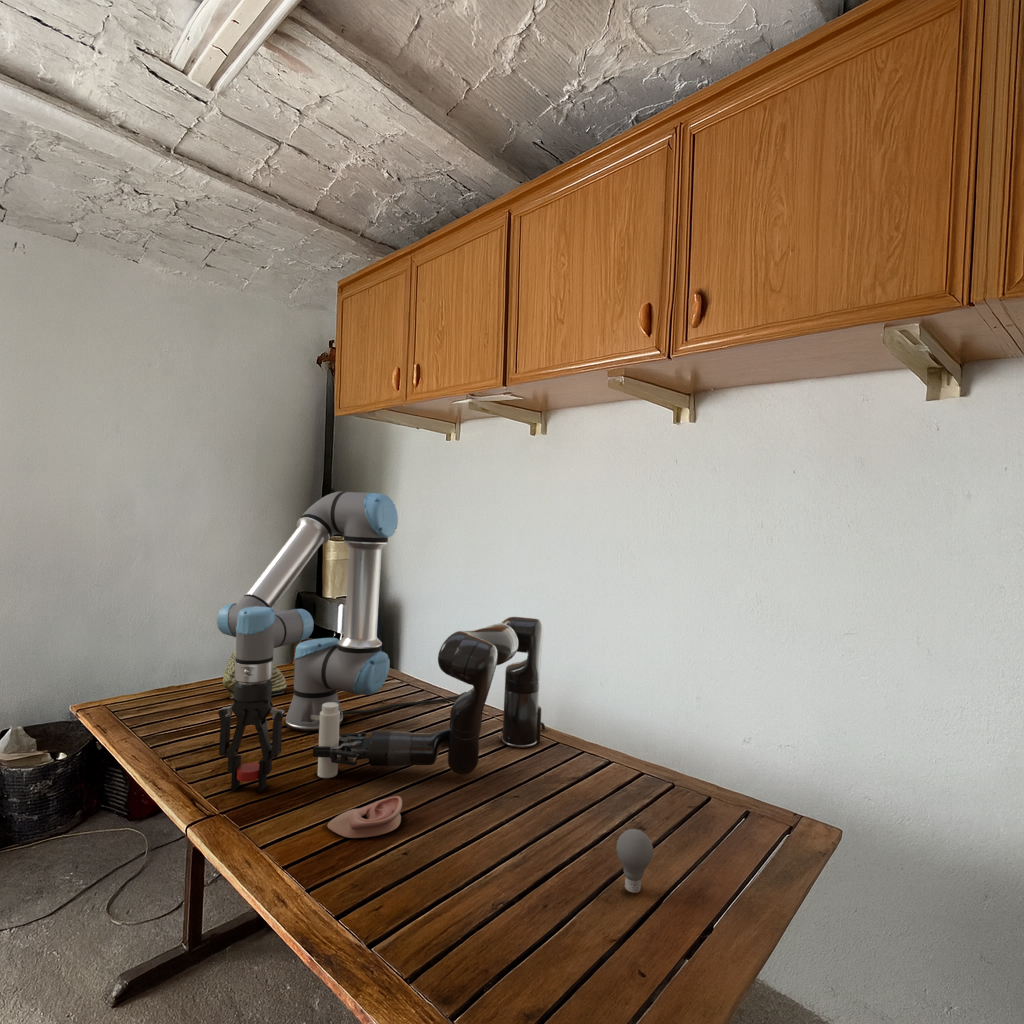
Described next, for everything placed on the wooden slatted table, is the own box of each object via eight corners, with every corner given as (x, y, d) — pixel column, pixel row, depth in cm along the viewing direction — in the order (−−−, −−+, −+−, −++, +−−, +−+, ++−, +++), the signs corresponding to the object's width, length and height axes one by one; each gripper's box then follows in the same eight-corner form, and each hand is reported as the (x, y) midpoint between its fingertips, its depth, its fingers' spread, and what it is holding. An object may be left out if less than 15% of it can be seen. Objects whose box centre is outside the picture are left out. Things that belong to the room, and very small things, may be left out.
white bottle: (319, 779, 142) (322, 708, 142) (315, 771, 146) (318, 702, 145) (339, 776, 144) (342, 706, 144) (335, 768, 148) (337, 700, 147)
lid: (265, 778, 136) (265, 768, 136) (241, 783, 132) (241, 774, 132) (257, 769, 139) (257, 760, 139) (233, 775, 136) (233, 766, 136)
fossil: (218, 695, 195) (220, 647, 195) (278, 685, 208) (279, 640, 207) (228, 703, 189) (230, 653, 188) (289, 692, 201) (290, 645, 201)
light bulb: (610, 879, 108) (613, 822, 108) (644, 879, 109) (647, 822, 109) (619, 902, 102) (622, 840, 102) (655, 901, 103) (658, 840, 103)
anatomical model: (320, 812, 119) (347, 786, 130) (319, 833, 119) (347, 805, 130) (386, 822, 116) (408, 795, 127) (385, 844, 116) (408, 814, 128)
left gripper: (202, 683, 132) (198, 794, 132) (290, 687, 132) (285, 797, 132) (218, 673, 139) (214, 779, 139) (301, 677, 140) (296, 782, 140)
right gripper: (396, 721, 153) (324, 720, 152) (388, 744, 138) (308, 743, 137) (394, 752, 153) (322, 751, 152) (387, 778, 139) (307, 777, 137)
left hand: (248, 787), depth 136 cm, fingers closed on lid, 5 cm apart
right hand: (316, 747), depth 144 cm, fingers closed on white bottle, 4 cm apart
